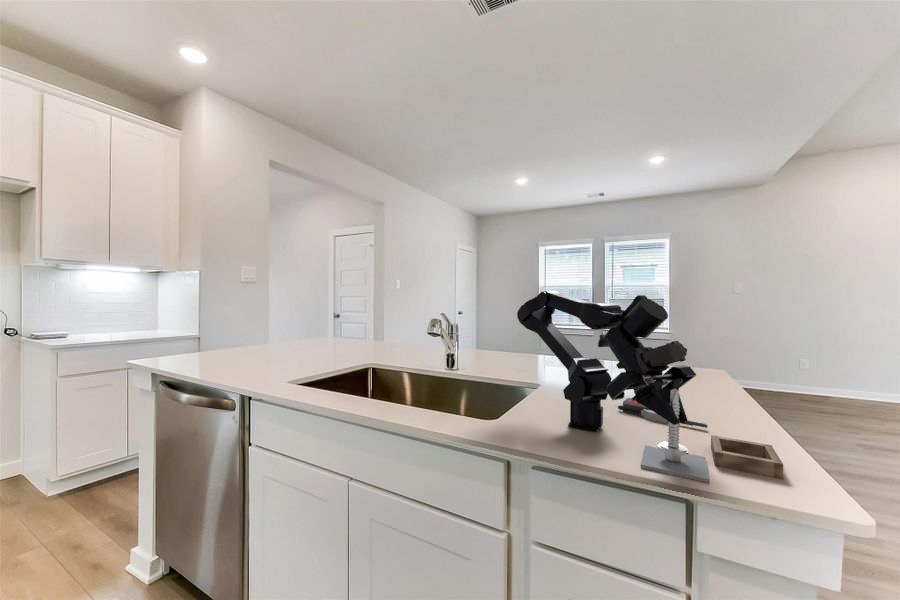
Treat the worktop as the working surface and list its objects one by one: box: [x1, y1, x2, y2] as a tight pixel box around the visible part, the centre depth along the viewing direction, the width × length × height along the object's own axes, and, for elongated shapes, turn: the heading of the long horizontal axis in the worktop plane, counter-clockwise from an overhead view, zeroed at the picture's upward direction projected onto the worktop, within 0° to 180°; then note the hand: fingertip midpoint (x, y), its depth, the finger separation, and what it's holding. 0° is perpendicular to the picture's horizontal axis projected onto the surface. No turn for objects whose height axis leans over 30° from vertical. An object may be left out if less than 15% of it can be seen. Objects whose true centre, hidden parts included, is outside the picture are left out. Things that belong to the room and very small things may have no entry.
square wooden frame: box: [710, 434, 784, 480], centre depth 69 cm, size 9×9×2 cm
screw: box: [657, 389, 690, 462], centre depth 68 cm, size 13×5×5 cm
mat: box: [640, 444, 710, 484], centre depth 68 cm, size 10×10×1 cm
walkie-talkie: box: [617, 397, 708, 429], centre depth 94 cm, size 9×4×20 cm
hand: (681, 422), depth 67 cm, fingers closed on screw, 2 cm apart
